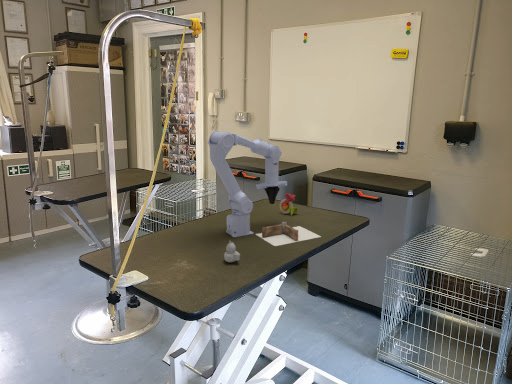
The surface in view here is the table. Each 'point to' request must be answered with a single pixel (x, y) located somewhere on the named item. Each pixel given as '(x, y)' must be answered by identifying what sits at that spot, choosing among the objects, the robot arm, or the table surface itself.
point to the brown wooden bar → (291, 232)
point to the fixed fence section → (273, 230)
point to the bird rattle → (285, 206)
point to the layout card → (285, 239)
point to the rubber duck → (231, 253)
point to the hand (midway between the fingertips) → (271, 203)
